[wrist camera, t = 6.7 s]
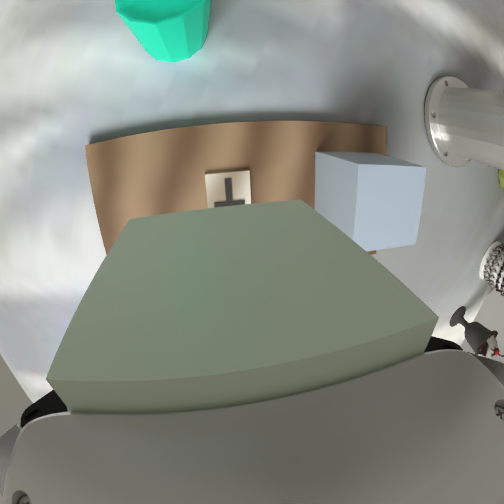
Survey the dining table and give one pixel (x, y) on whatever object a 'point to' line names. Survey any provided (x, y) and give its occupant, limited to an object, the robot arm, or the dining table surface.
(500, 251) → the decorative candle
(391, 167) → the blue cover
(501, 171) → the plant pot
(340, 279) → the pale green block
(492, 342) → the sundae
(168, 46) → the candle
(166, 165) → the board
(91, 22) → the dining table surface
